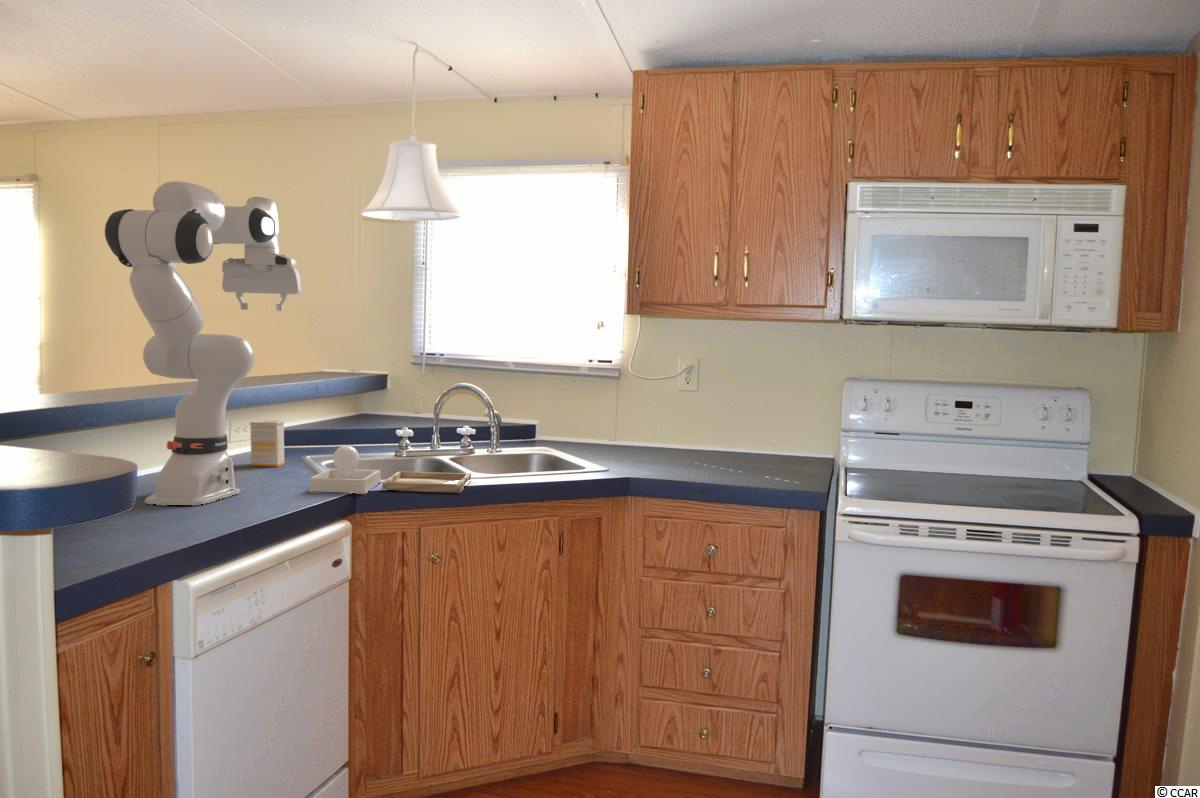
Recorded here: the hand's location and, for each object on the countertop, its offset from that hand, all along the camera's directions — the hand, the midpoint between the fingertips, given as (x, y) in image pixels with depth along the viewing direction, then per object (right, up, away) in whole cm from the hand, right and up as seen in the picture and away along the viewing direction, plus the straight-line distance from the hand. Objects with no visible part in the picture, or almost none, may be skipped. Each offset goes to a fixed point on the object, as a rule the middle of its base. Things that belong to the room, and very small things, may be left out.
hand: (262, 310), depth 237 cm
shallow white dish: (+27, -47, -13) cm, 56 cm away
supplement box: (-4, -44, +16) cm, 47 cm away
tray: (+47, -47, -8) cm, 67 cm away
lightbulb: (+27, -48, -13) cm, 56 cm away
